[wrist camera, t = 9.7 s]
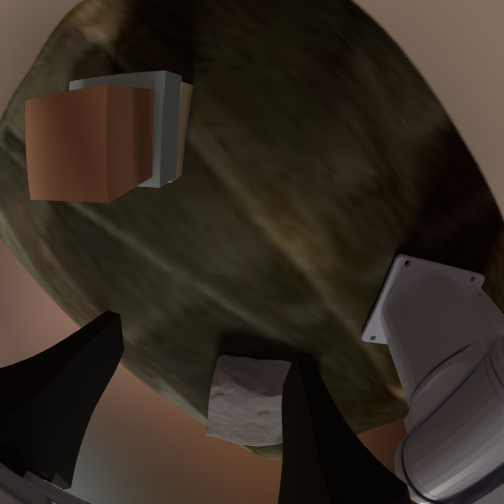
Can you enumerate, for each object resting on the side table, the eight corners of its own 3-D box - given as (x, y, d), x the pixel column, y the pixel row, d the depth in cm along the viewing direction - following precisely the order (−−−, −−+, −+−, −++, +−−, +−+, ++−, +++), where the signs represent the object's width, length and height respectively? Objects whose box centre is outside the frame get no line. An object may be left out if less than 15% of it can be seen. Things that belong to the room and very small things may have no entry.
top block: (181, 76, 14) (166, 70, 12) (175, 177, 17) (159, 187, 15) (93, 82, 15) (69, 81, 12) (91, 173, 17) (69, 182, 15)
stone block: (317, 348, 27) (208, 348, 25) (331, 389, 23) (209, 392, 21) (288, 413, 32) (204, 414, 31) (296, 446, 28) (205, 450, 27)
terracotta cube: (155, 89, 12) (107, 84, 8) (152, 177, 14) (108, 203, 10) (82, 97, 13) (25, 100, 9) (82, 175, 15) (30, 199, 11)
